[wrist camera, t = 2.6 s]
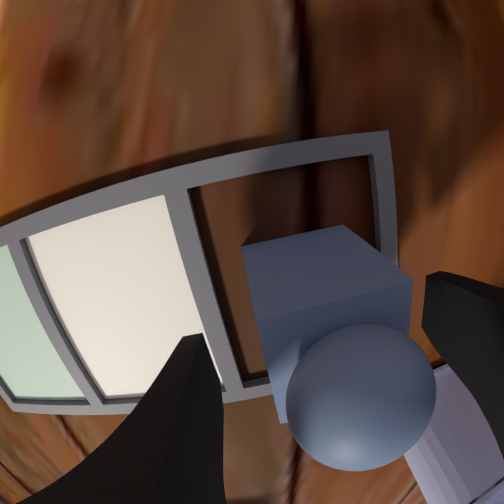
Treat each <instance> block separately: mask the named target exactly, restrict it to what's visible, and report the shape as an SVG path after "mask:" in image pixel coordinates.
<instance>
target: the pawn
mask: <svg viewBox="0 0 504 504" xmlns="http://www.w3.org/2000/svg"><path fill="white" fill-rule="evenodd" d="M241 249H242V254H243V259H244V264H245V269H246V274H247V279H248V284H249V290H250V295H251V300H252V305H253V310H254V315H255V320H256V324H257V328H258V333H259V337H260V341H261V345H262V350H263V354H264V358H265V362H266V367H267V371H268V375H269V379H270V383H271V387H272V392H273V396H274V400H275V404H276V408H277V412H278V416H279V421H280V424H282V423H287V422H288V423H289V426H290V429H291V432H292V434H293V436H294V437H295V439H296V441H297V442H298V444H299V445H300V446H301V447H302V449H303V450H304V451H305V452H306V453H308V454H309V455H310V456H311V457H312V458H314V459H315V460H317V461H319V462H320V463H322V464H324V465H327V466H329V467H332V468H335V469H340V470H346V471H364V470H370V469H374V468H378V467H381V466H384V465H386V464H389V463H391V462H393V461H394V460H396V459H398V458H399V457H401V456H402V455H404V454H405V453H406V452H407V451H408V450H410V449H411V448H412V447H413V446H414V445H415V444H416V443H417V441H418V440H419V439H420V438H421V436H422V435H423V433H424V432H425V430H426V428H427V426H428V424H429V422H430V420H431V418H432V415H433V411H434V407H435V402H436V380H435V375H434V372H433V368H432V366H431V364H430V362H429V359H428V357H427V356H426V354H425V353H424V351H423V350H422V349H421V348H420V346H419V345H418V344H417V343H416V342H415V341H413V340H412V339H411V338H410V337H408V334H409V325H410V314H411V301H412V285H413V279H412V278H411V277H410V276H408V275H407V274H406V273H405V272H404V271H402V270H401V269H400V268H399V267H397V266H396V265H395V264H394V263H392V262H391V261H390V260H389V259H387V258H386V257H385V256H384V255H382V254H381V253H380V252H379V251H377V250H376V249H375V248H373V247H372V246H371V245H370V244H368V243H367V242H366V241H364V240H363V239H362V238H360V237H359V236H358V235H357V234H355V233H354V232H353V231H351V230H350V229H349V228H347V227H346V226H345V225H338V226H333V227H329V228H324V229H319V230H315V231H310V232H305V233H301V234H296V235H291V236H287V237H282V238H278V239H273V240H268V241H264V242H259V243H255V244H250V245H246V246H241Z"/></svg>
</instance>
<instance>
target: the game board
mask: <svg viewBox="0 0 504 504" xmlns="http://www.w3.org/2000/svg"><path fill="white" fill-rule="evenodd" d="M361 155H368V162H369V171H370V179H371V189H372V199H373V211H374V225H375V243H376V250H377V251H379V252H380V253H381V254H382V255H384V256H385V257H386V258H387V259H389V260H390V261H391V262H392V263H394V264H395V265H396V266H397V267H398V234H397V210H396V195H395V182H394V171H393V162H392V153H391V145H390V137H389V131H373V132H363V133H354V134H345V135H337V136H329V137H322V138H315V139H308V140H302V141H295V142H289V143H283V144H278V145H272V146H266V147H261V148H256V149H251V150H246V151H241V152H236V153H231V154H227V155H222V156H217V157H213V158H209V159H204V160H200V161H196V162H192V163H188V164H184V165H180V166H176V167H172V168H168V169H165V170H161V171H157V172H154V173H150V174H147V175H143V176H140V177H136V178H133V179H129V180H126V181H123V182H120V183H116V184H113V185H110V186H107V187H104V188H101V189H98V190H95V191H92V192H89V193H86V194H83V195H80V196H77V197H74V198H72V199H69V200H66V201H63V202H61V203H58V204H55V205H53V206H50V207H47V208H45V209H42V210H40V211H37V212H35V213H32V214H30V215H27V216H25V217H22V218H20V219H17V220H15V221H13V222H10V223H8V224H6V225H4V226H1V227H0V395H1V396H2V397H3V399H4V400H5V401H6V403H7V404H8V405H9V407H10V408H11V409H12V410H13V411H17V412H28V413H42V414H63V415H111V414H130V413H131V412H132V410H133V409H134V408H135V406H136V405H137V404H138V402H139V401H140V400H141V398H142V397H143V396H144V394H145V393H146V392H147V390H148V389H149V387H150V386H151V385H152V383H153V382H154V380H155V379H156V377H157V376H158V374H159V373H160V371H161V370H162V368H163V366H164V365H165V363H166V362H167V360H168V359H169V357H170V355H171V354H172V352H173V351H174V349H175V347H176V346H177V344H178V343H179V341H180V340H181V338H182V337H183V336H188V335H193V334H198V333H203V335H204V338H205V341H206V344H207V347H208V349H209V352H210V355H211V358H212V360H213V363H214V366H215V369H216V371H217V374H218V377H219V379H220V382H221V391H222V400H223V404H224V403H230V402H235V401H241V400H246V399H252V398H257V397H262V396H266V395H271V394H273V392H272V387H271V383H270V379H269V376H267V377H263V378H258V379H253V380H248V381H242V378H241V375H240V371H239V368H238V365H237V362H236V359H235V355H234V352H233V349H232V346H231V342H230V339H229V336H228V332H227V329H226V326H225V322H224V319H223V316H222V312H221V309H220V305H219V302H218V298H217V295H216V291H215V288H214V284H213V281H212V277H211V273H210V270H209V266H208V262H207V259H206V255H205V251H204V247H203V244H202V240H201V236H200V232H199V228H198V225H197V221H196V217H195V213H194V209H193V205H192V201H191V197H190V193H189V189H188V188H192V187H196V186H201V185H205V184H209V183H214V182H218V181H222V180H227V179H231V178H236V177H241V176H245V175H250V174H255V173H260V172H265V171H270V170H275V169H281V168H286V167H292V166H297V165H303V164H309V163H315V162H321V161H327V160H333V159H340V158H347V157H354V156H361Z"/></svg>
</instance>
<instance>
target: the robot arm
mask: <svg viewBox="0 0 504 504" xmlns="http://www.w3.org/2000/svg"><path fill="white" fill-rule="evenodd" d="M421 327H422V328H423V330H424V332H425V333H426V335H427V337H428V338H429V340H430V342H431V343H432V345H433V346H434V348H435V349H436V351H437V352H438V353H439V354H440V356H441V357H442V358H443V359H444V360H445V362H446V363H447V364H445V365H443V366H441V367H438V368H436V369H434V370H433V372H434V375H435V380H436V402H435V407H434V411H433V415H432V418H431V420H430V422H429V424H428V426H427V428H426V430H425V432H424V433H423V435H422V436H421V438H420V439H419V440H418V441H417V443H416V444H415V445H414V446H413V447H412V448H411V449H410V450H408V451H407V452H406V453H405V454H404V457H405V459H406V461H407V463H408V465H409V467H410V469H411V471H412V473H413V475H414V477H415V479H416V481H417V483H418V485H419V487H420V489H421V491H422V493H423V495H424V497H425V499H426V501H427V503H428V504H504V289H503V288H500V287H496V286H493V285H490V284H486V283H483V282H480V281H477V280H474V279H470V278H467V277H464V276H460V275H456V274H452V273H448V272H443V271H439V272H436V273H433V274H430V275H427V276H426V286H425V297H424V308H423V317H422V325H421ZM223 423H224V409H223V400H222V391H221V382H220V379H219V377H218V374H217V371H216V369H215V366H214V363H213V360H212V358H211V355H210V352H209V349H208V347H207V344H206V341H205V338H204V335H203V333H198V334H193V335H188V336H183V337H182V338H181V340H180V341H179V343H178V344H177V346H176V347H175V349H174V351H173V352H172V354H171V355H170V357H169V359H168V360H167V362H166V363H165V365H164V366H163V368H162V370H161V371H160V373H159V374H158V376H157V377H156V379H155V380H154V382H153V383H152V385H151V386H150V387H149V389H148V390H147V392H146V393H145V394H144V396H143V397H142V398H141V400H140V401H139V402H138V404H137V405H136V406H135V408H134V409H133V410H132V412H131V413H130V414H129V415H128V416H127V418H126V419H125V420H124V421H123V422H122V423H121V424H120V425H119V427H118V428H117V429H116V430H115V431H114V432H113V433H112V434H111V435H110V436H109V437H108V438H107V439H106V440H105V441H104V442H103V443H102V444H101V445H100V446H99V447H98V448H96V449H95V450H94V451H93V452H92V453H91V454H90V455H89V456H88V457H87V458H85V459H84V460H83V461H82V462H81V463H80V464H78V465H77V466H76V467H74V468H73V469H72V470H71V471H69V472H68V473H67V474H65V475H64V476H62V477H61V478H59V479H58V480H57V481H55V482H54V483H52V484H51V485H49V486H47V487H46V488H44V489H42V490H41V491H39V492H37V493H35V494H33V495H32V496H30V497H28V498H26V499H24V500H22V501H20V502H18V503H16V504H226V499H225V491H224V481H223Z"/></svg>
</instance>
